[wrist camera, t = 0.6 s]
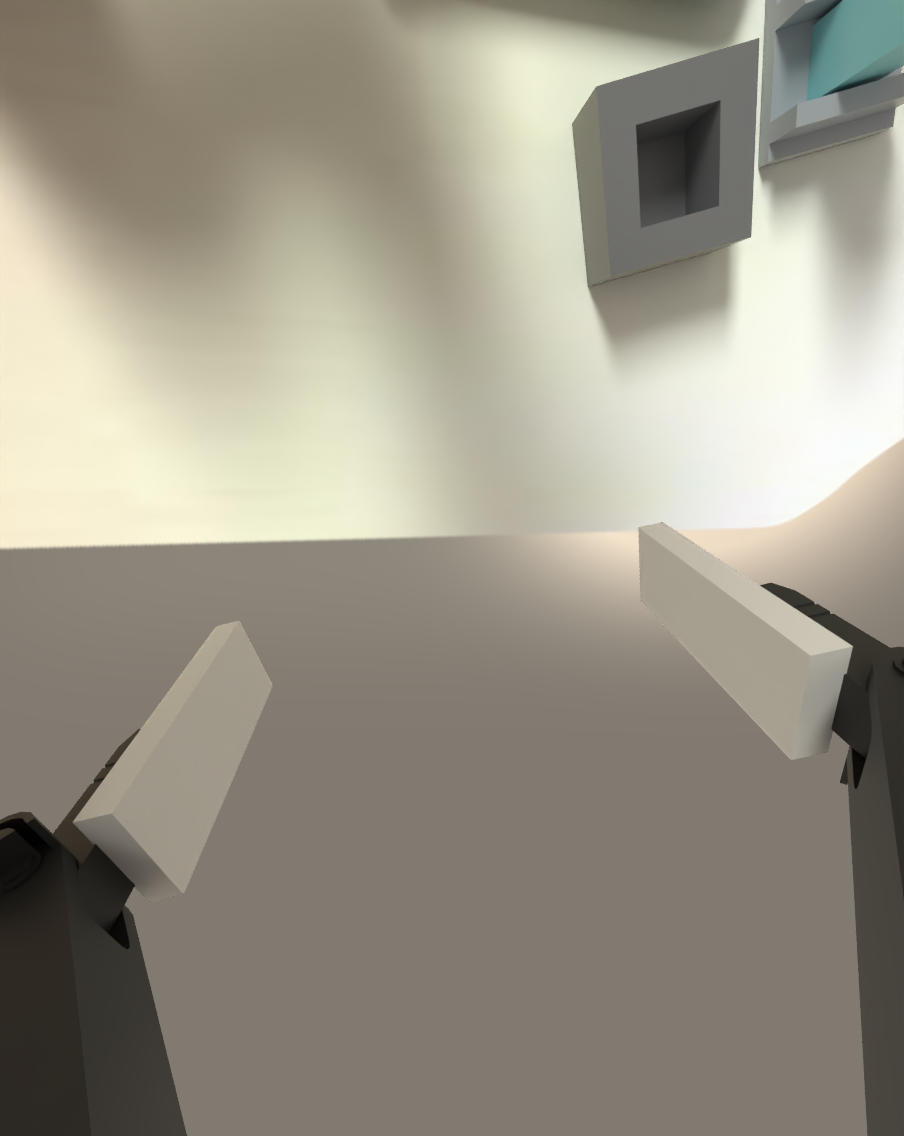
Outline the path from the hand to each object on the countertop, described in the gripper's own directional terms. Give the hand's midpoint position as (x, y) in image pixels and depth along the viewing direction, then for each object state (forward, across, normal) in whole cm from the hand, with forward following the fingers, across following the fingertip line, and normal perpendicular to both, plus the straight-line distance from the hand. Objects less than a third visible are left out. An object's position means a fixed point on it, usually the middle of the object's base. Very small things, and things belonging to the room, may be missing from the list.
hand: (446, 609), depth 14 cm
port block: (+28, +21, +15) cm, 38 cm away
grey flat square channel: (+28, +34, +19) cm, 48 cm away
